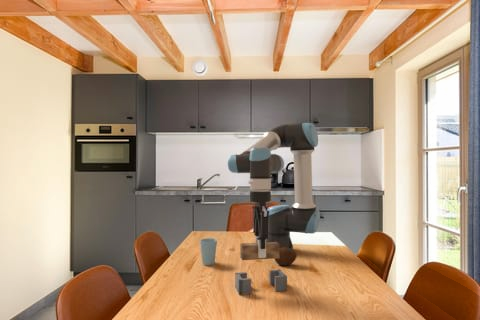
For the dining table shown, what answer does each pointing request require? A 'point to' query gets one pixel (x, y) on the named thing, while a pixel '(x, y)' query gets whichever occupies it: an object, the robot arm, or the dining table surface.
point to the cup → (208, 250)
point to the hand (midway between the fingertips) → (260, 255)
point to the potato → (286, 256)
